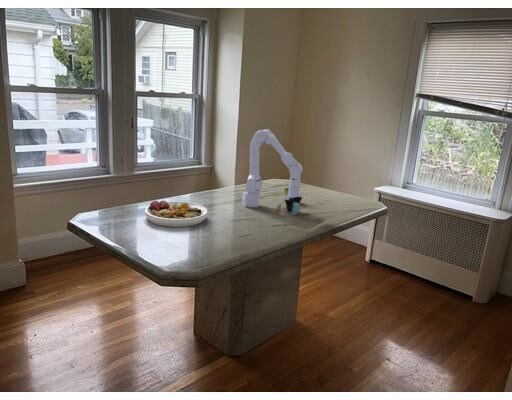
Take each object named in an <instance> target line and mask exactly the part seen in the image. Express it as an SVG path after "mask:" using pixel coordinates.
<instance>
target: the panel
mask: <svg viewBox="0 0 512 400" xmlns="http://www.w3.org/2000/svg"><path fill="white" fill-rule="evenodd" d="M268 209H269V210H270V211H271V212H273V213H274V214H275V215H276V216H295V215H297V216H298V215H303V213H302V212H301V211H299V212H298V213H296V214H291V213H287V212H285V211H286V207H281V210H280V211H276V207H274V208H273V207H272V208H271V207H270V208H269V207H268Z"/></svg>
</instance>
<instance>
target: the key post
mask: <svg viewBox="0 0 512 400" xmlns="http://www.w3.org/2000/svg"><path fill="white" fill-rule="evenodd" d="M275 208H276V211H280V210H281V208H282V204H281V203H276V204H275Z"/></svg>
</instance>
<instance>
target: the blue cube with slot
mask: <svg viewBox="0 0 512 400" xmlns="http://www.w3.org/2000/svg"><path fill="white" fill-rule="evenodd" d="M300 204H301V202H300V203H296V202H294V204H293V208H292V212H288V210H287V205H286V204H285V208H286V211H285V212H287V213H291V214H296V213H298V212H300Z"/></svg>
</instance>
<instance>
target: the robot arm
mask: <svg viewBox="0 0 512 400" xmlns="http://www.w3.org/2000/svg"><path fill="white" fill-rule="evenodd" d="M264 143H265V144H267V145H271V146H272V147H273V149H275V151H276V152H277V153H278V154H279V155H280V160H281V161H282V162H283V164H284V165H285V166H286V167H287V169H288V172H289V174H290V177H289V187H288V188H289V193H288V194H287V196H285V195H284V203H285V206H286V205H287V210H288V212H292V208H293V204H294V202H296V203H300V204H301V201H302V199H303V197H302V195H303V192H302V191H300V188H301V181H302V180H301V179H302V177H301V175H302V172H303V170H304V168H303V166H302V164H301V163H300V162H298V161H297V160H296V159H295V157H294V156H293V153H292V152H291V153H290V151H286V150H285V148H284V147H283V146H282V144H281V143H280V142H279V140H278V138H277V137H276V136H275V134H274V133H273V132H272V130H270V129H268V128H265V129H259V130H257V131H256V132H255V133H253V137H252V138H251V141H250V142H249V174H248V177H247V180H246V181H247V182H246V183H245V190H246V191H243V192H242V194H241V206H243V207H244V208H257V207H259V206H260V195H261V190H260V189H261V188H262V186H263V184H262V180H261V176H260V147H261V146H262V145H263V144H264ZM292 199H293V200H292Z"/></svg>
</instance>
